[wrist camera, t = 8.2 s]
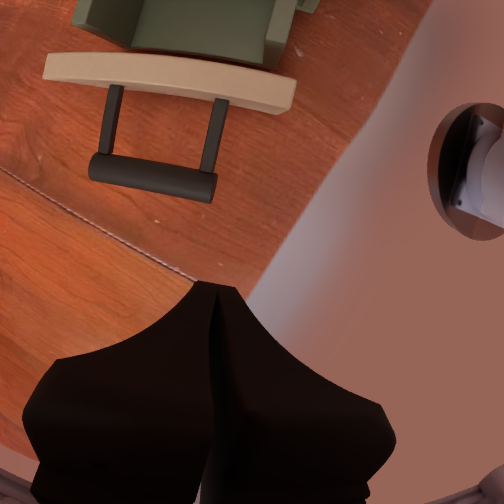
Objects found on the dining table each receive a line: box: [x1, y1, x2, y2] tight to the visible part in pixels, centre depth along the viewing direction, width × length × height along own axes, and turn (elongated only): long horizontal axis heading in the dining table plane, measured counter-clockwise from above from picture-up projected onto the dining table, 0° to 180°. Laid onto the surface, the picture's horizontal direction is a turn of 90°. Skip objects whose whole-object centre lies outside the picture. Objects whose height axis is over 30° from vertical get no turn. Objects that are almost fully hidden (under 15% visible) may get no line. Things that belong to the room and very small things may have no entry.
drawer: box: [43, 0, 298, 204], centre depth 12 cm, size 17×10×7 cm, turn 167°
